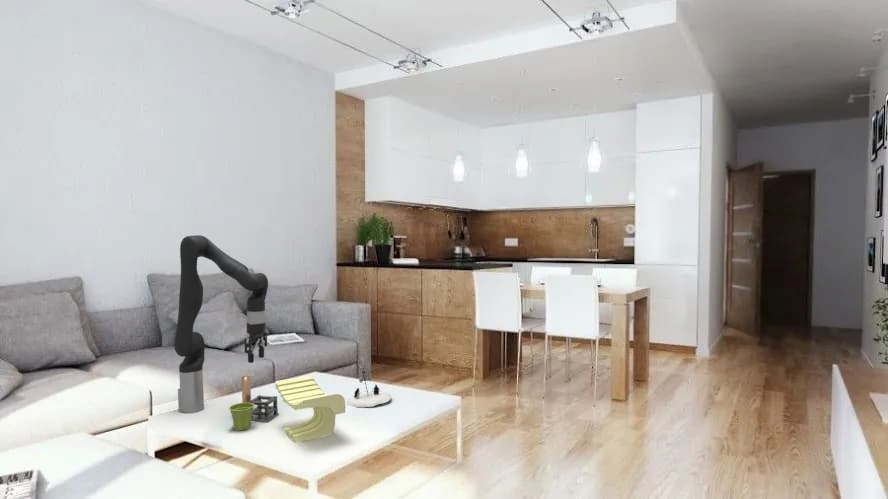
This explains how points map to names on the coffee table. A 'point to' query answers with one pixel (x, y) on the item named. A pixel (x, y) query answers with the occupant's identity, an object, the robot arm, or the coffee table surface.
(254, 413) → the metal frame cube
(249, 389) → the tube
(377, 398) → the figurine
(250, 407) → the plant pot
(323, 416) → the slatted curved stool
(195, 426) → the coffee table surface
